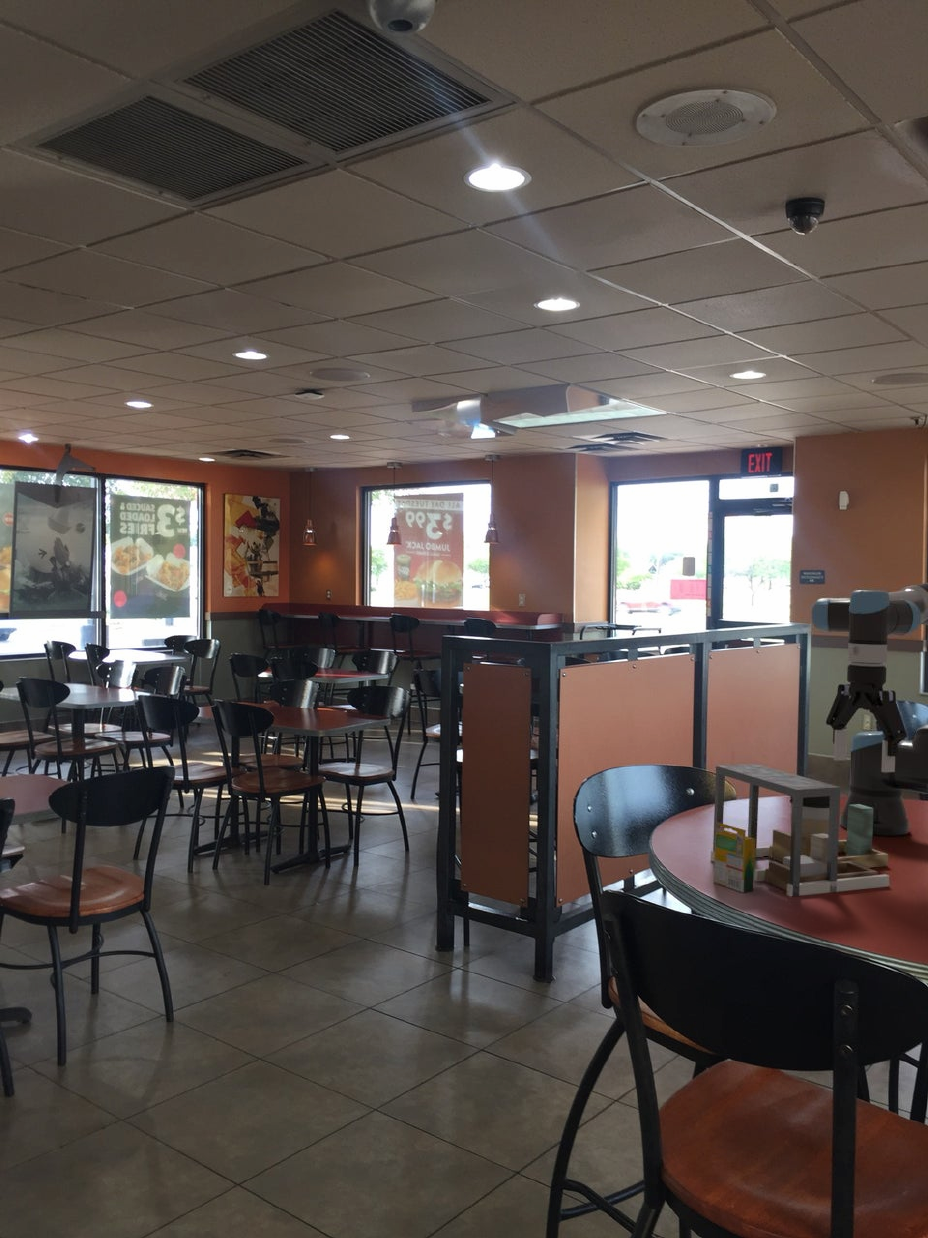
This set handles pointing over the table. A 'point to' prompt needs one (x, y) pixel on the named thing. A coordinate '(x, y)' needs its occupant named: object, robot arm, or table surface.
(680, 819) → the table surface
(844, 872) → the sled
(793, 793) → the shelf
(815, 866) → the grey block
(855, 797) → the robot arm
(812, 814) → the coffee cup
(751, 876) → the crayon box
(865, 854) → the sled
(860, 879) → the lane rails
